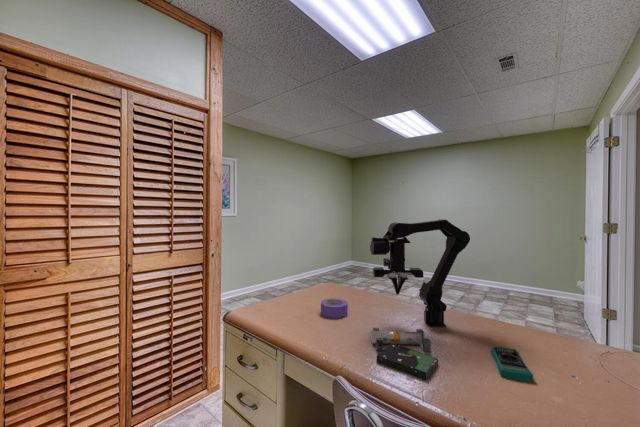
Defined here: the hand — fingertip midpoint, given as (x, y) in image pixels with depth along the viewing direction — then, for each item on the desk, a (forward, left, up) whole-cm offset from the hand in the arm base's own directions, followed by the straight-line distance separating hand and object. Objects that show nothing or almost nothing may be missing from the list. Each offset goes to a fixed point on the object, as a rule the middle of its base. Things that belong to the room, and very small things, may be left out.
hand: (397, 294), depth 110 cm
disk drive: (+3, +29, -13) cm, 31 cm away
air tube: (+4, +17, -12) cm, 21 cm away
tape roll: (+25, -11, -12) cm, 30 cm away
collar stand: (+3, +17, -12) cm, 21 cm away
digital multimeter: (-26, +28, -13) cm, 40 cm away
